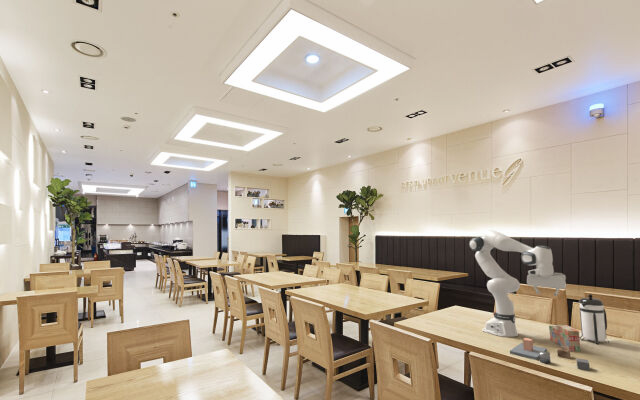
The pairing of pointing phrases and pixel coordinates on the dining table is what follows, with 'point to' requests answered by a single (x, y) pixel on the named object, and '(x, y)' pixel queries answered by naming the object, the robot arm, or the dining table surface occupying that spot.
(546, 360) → the dark metal cylinder
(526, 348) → the terracotta block
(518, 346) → the slate board
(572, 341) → the stack of blocks
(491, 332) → the robot arm
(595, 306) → the coffee press
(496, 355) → the dining table surface
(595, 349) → the dining table surface
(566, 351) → the walnut block
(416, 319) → the dining table surface
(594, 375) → the dining table surface
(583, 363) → the charcoal rubber cube
